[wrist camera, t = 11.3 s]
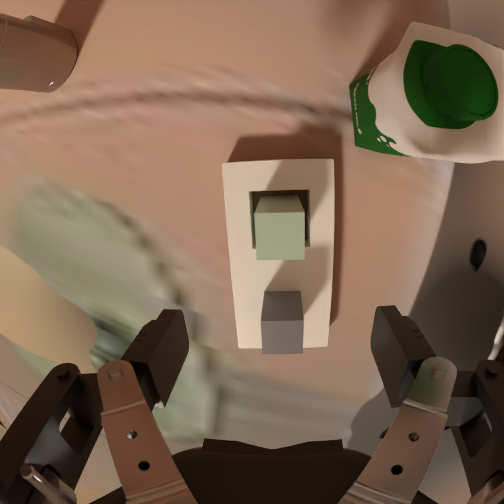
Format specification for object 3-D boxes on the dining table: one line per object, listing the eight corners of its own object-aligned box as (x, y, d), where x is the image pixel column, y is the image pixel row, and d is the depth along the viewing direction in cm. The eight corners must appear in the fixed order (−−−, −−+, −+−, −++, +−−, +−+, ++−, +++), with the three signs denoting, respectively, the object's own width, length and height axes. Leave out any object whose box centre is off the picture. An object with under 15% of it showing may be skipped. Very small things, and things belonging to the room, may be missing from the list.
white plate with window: (227, 162, 31) (207, 166, 22) (328, 158, 29) (347, 161, 21) (241, 334, 38) (231, 380, 29) (324, 332, 37) (333, 379, 28)
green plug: (261, 196, 32) (254, 213, 23) (297, 195, 31) (304, 212, 23) (262, 231, 33) (256, 260, 25) (298, 230, 33) (304, 259, 24)
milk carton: (339, 78, 26) (413, -6, 7) (412, 83, 25) (529, 40, 6) (347, 154, 29) (443, 165, 10) (419, 155, 28) (548, 177, 9)
